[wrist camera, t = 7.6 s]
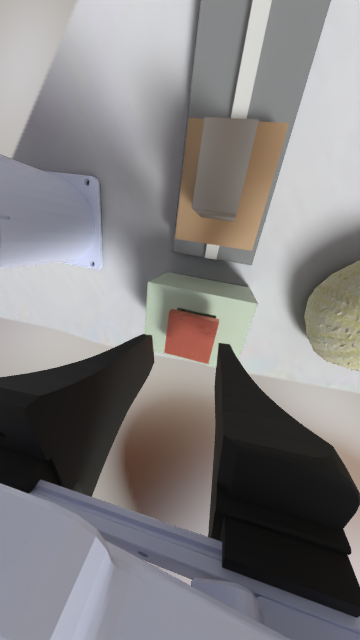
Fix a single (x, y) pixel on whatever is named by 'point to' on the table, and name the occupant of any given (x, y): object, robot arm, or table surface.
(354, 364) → the sea urchin shell
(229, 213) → the carriage
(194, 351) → the button
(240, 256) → the track
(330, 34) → the table surface
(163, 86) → the table surface
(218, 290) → the pale green block
